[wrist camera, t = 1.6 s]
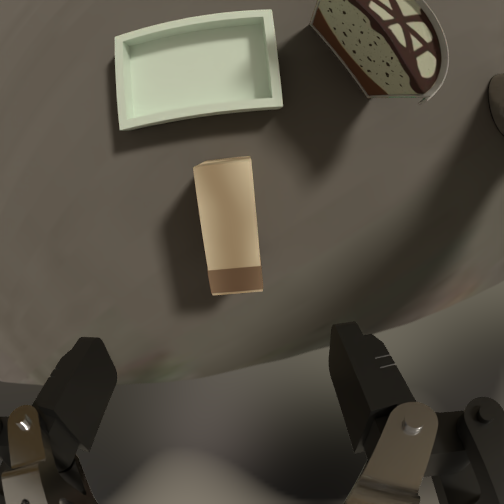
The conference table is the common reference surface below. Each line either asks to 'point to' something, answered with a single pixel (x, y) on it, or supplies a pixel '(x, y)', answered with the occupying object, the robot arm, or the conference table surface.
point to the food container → (386, 45)
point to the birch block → (229, 225)
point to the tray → (197, 68)
